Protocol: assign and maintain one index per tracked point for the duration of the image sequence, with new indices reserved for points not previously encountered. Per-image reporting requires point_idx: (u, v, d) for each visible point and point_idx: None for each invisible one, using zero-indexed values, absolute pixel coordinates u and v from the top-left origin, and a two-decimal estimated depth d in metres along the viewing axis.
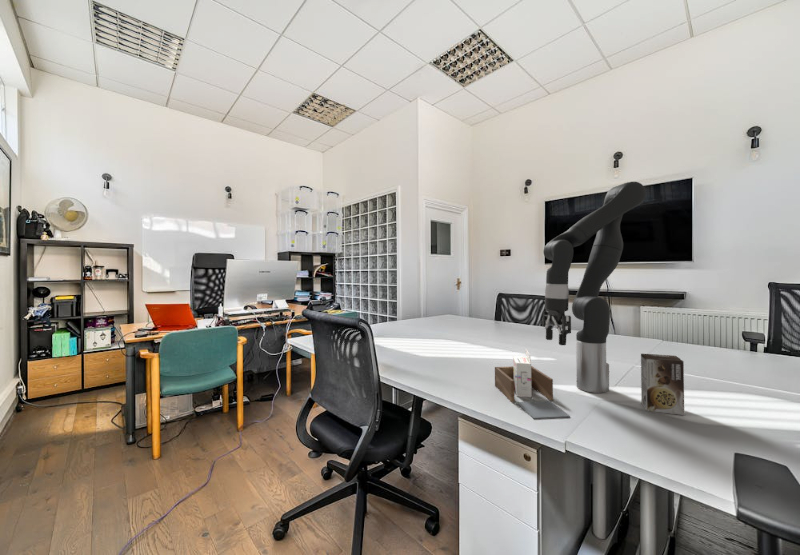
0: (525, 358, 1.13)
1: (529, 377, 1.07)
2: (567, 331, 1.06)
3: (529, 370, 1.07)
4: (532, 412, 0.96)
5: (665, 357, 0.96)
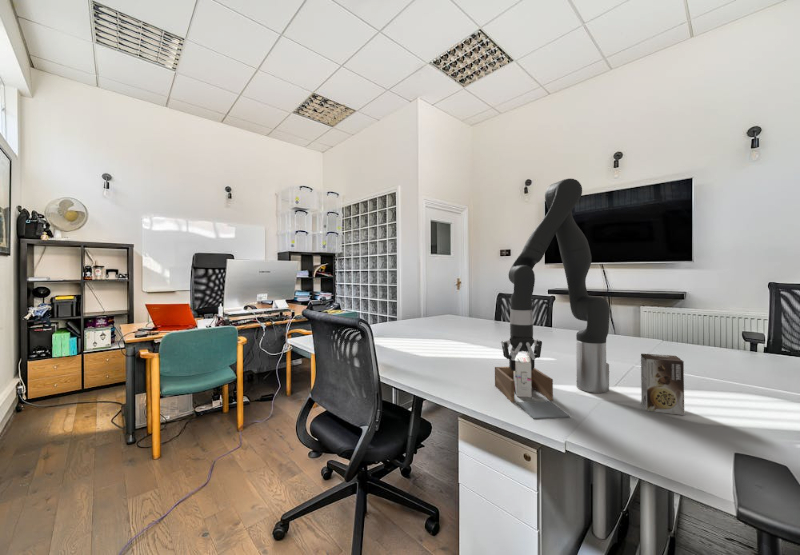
0: (525, 358, 1.13)
1: (529, 377, 1.07)
2: None
3: (529, 370, 1.07)
4: (532, 412, 0.96)
5: (665, 357, 0.96)
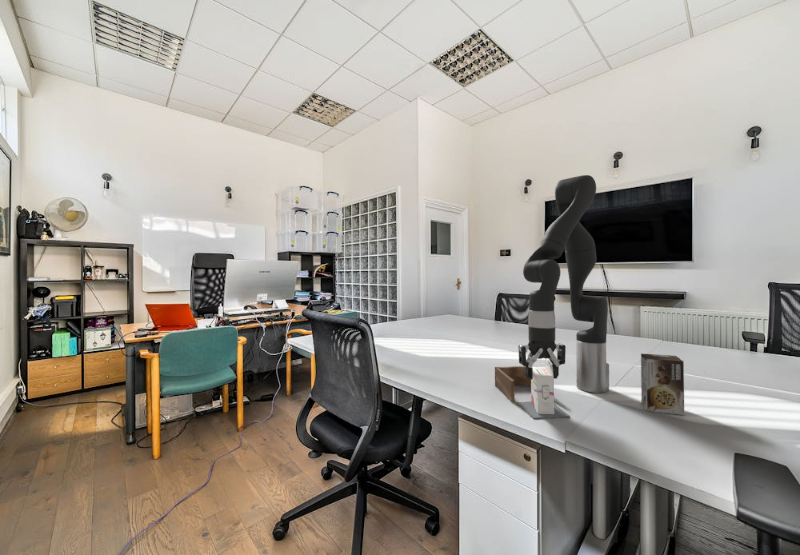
0: (545, 369, 0.99)
1: (551, 391, 0.94)
2: None
3: (551, 383, 0.93)
4: (532, 412, 0.96)
5: (665, 357, 0.96)
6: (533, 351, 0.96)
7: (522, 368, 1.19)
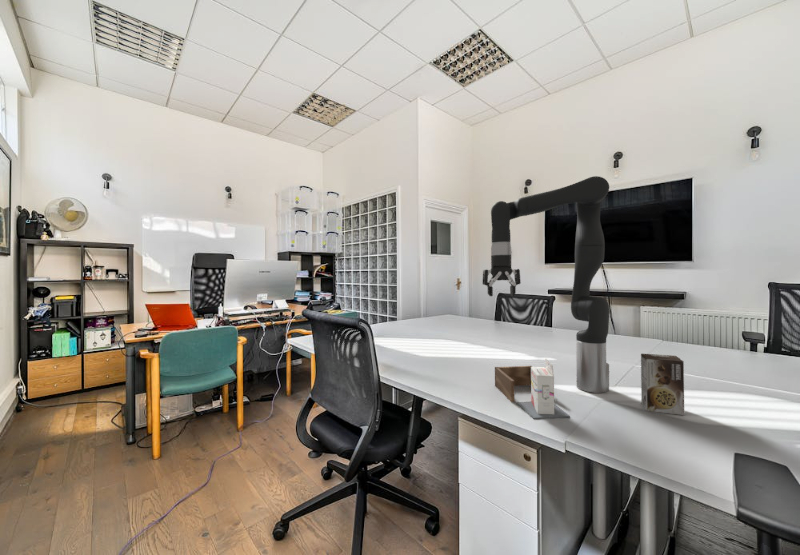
0: (545, 369, 0.99)
1: (552, 391, 0.93)
2: None
3: (552, 383, 0.93)
4: (532, 412, 0.96)
5: (665, 357, 0.96)
6: (494, 274, 1.23)
7: (522, 368, 1.19)
